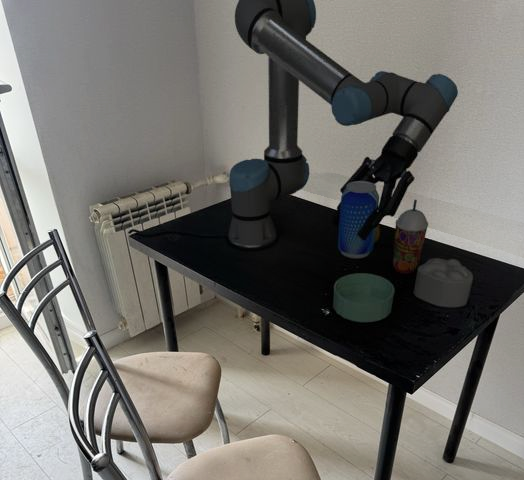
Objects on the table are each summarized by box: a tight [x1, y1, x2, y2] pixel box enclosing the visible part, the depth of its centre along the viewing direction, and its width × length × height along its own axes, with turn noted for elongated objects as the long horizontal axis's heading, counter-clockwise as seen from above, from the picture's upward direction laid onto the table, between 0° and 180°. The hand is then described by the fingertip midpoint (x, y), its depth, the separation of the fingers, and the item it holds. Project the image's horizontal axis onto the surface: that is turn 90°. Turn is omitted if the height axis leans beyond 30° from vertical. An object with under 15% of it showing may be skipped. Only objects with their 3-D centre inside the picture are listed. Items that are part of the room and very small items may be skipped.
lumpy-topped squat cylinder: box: [413, 257, 474, 308], centre depth 127 cm, size 10×13×9 cm
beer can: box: [337, 181, 380, 259], centre depth 116 cm, size 8×8×16 cm
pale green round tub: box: [332, 272, 396, 323], centre depth 125 cm, size 15×15×6 cm
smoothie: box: [392, 199, 429, 275], centre depth 134 cm, size 8×8×20 cm
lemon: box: [374, 224, 381, 244], centre depth 150 cm, size 6×6×8 cm
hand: (346, 230), depth 115 cm, fingers closed on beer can, 8 cm apart
